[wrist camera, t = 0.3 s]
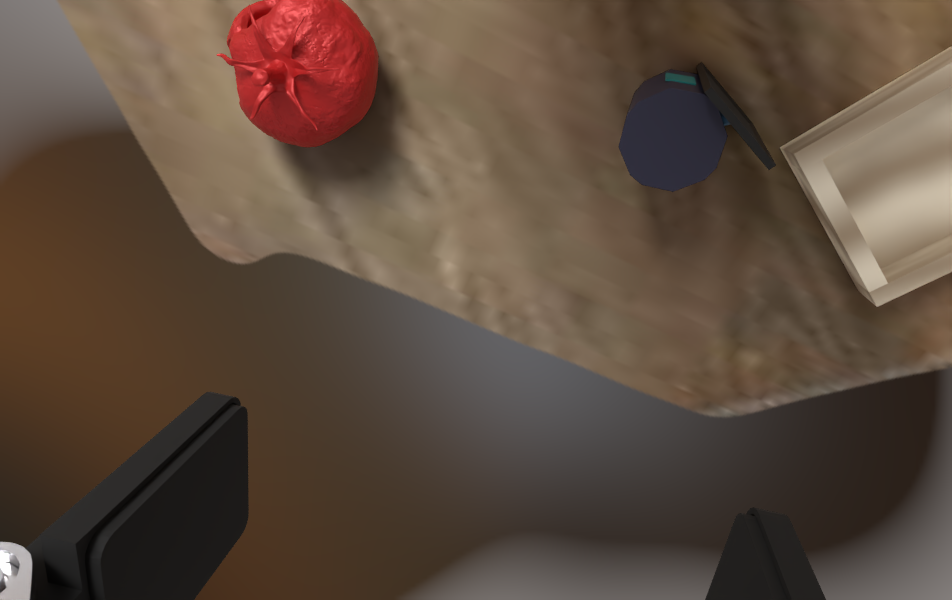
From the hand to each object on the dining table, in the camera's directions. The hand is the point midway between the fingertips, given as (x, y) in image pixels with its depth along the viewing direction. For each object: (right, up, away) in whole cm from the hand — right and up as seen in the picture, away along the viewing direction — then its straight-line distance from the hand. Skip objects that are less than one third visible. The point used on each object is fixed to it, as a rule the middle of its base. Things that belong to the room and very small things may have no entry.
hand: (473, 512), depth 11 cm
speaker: (+14, +16, +30) cm, 36 cm away
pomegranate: (-11, +21, +32) cm, 40 cm away
